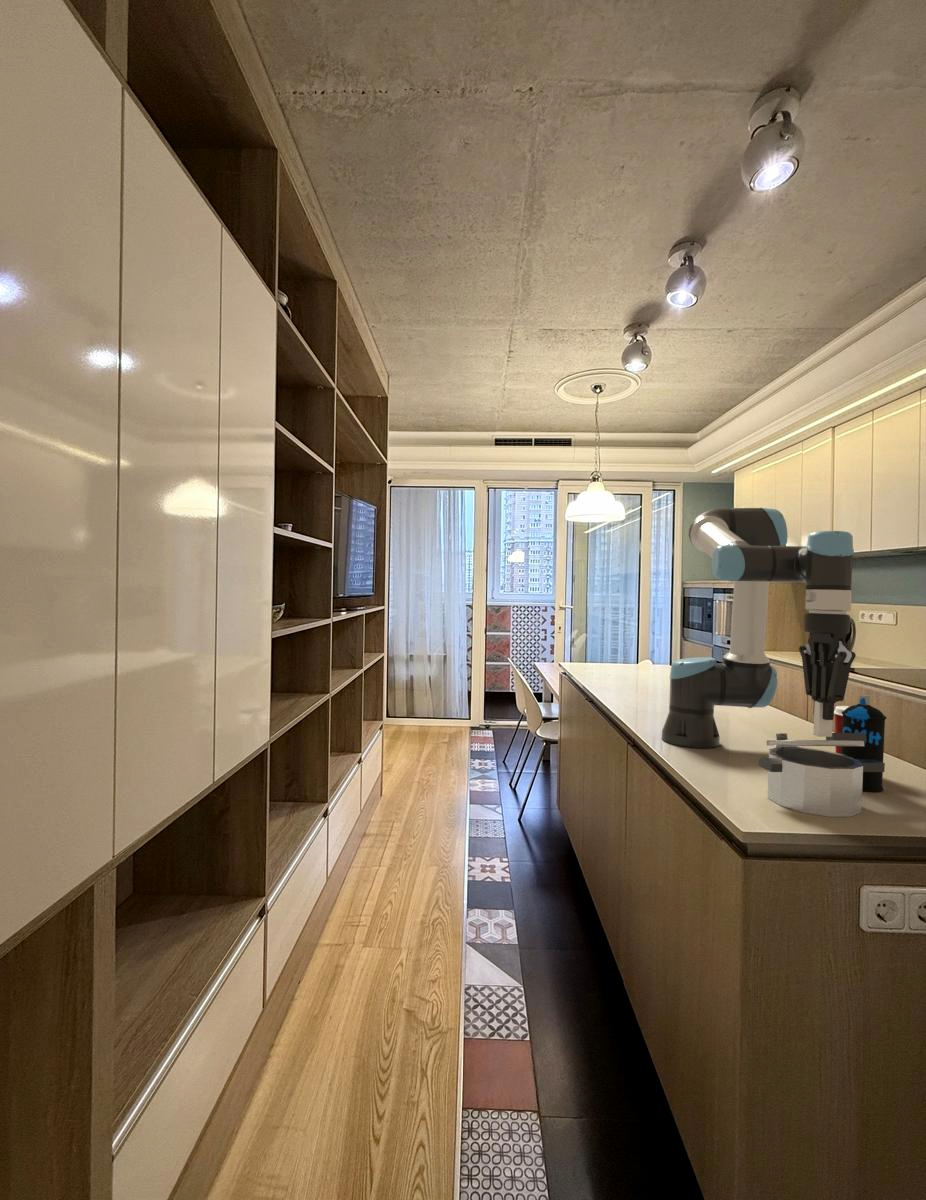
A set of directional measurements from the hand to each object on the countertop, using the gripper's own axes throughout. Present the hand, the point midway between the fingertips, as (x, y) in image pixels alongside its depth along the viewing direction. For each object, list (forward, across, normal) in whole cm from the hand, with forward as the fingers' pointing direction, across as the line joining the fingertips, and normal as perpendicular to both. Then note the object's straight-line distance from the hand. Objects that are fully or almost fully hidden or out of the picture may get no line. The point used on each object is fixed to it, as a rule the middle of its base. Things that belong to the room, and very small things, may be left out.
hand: (822, 735), depth 116 cm
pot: (+14, -6, +4) cm, 16 cm away
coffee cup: (+15, -26, +26) cm, 40 cm away
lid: (+3, -6, +3) cm, 7 cm away
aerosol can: (+15, -15, +20) cm, 29 cm away
